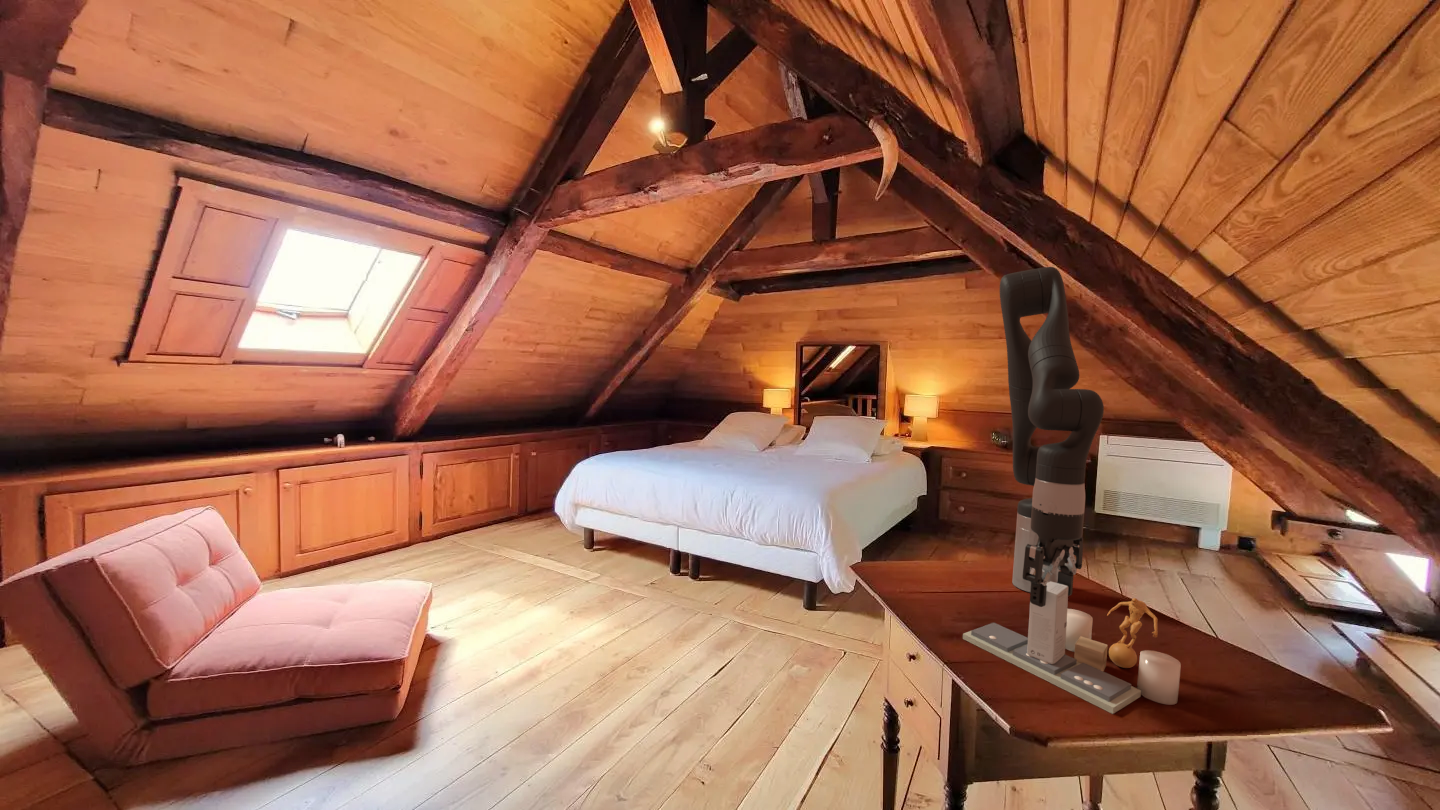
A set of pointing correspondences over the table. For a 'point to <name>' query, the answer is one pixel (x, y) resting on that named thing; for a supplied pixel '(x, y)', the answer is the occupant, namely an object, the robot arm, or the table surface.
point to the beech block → (1091, 653)
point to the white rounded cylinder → (1077, 627)
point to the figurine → (1123, 652)
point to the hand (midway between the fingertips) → (1051, 599)
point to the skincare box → (1049, 625)
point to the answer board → (1056, 669)
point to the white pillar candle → (1159, 677)
